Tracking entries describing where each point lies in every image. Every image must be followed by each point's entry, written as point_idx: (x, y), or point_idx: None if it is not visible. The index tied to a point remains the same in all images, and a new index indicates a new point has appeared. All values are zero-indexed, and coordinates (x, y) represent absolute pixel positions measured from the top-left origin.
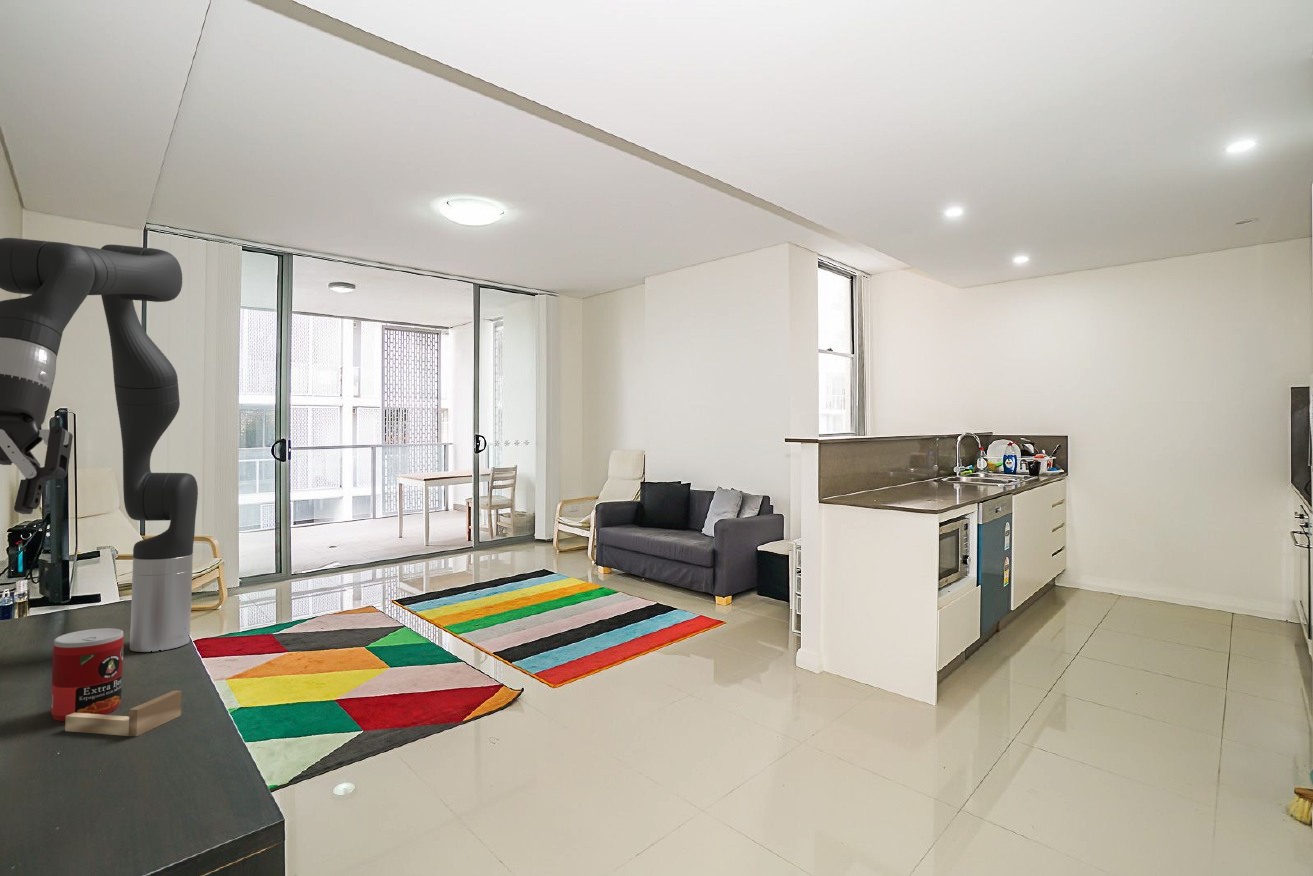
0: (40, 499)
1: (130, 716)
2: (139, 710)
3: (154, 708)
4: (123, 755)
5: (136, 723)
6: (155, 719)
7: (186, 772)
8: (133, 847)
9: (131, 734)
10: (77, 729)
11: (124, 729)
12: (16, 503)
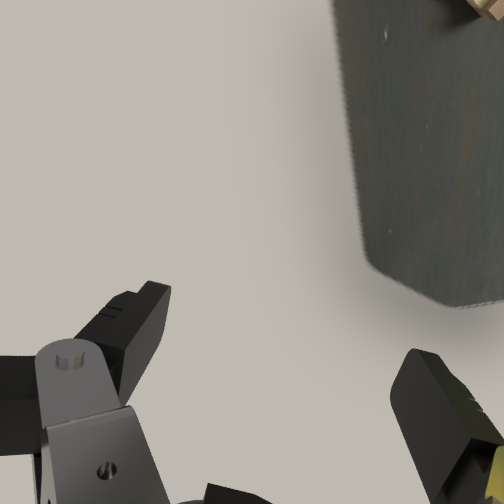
0: (476, 403)
1: (485, 10)
2: (501, 16)
3: None
4: (454, 89)
5: (488, 18)
6: None
7: (500, 177)
8: (434, 281)
9: (476, 10)
10: None
11: (470, 2)
12: (398, 414)
